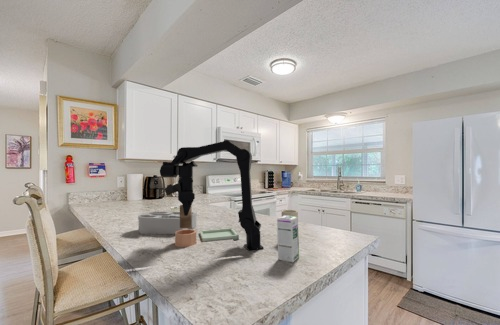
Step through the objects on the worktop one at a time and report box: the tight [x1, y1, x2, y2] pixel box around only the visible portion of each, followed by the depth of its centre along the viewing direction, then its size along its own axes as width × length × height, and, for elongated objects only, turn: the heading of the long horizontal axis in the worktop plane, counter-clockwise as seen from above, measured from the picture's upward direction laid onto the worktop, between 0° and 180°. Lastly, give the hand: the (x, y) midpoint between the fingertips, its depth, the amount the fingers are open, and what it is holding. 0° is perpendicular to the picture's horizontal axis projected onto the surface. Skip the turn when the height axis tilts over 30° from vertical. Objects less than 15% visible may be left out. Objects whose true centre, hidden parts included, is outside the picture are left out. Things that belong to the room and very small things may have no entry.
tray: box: [199, 227, 240, 243], centre depth 107 cm, size 14×16×2 cm
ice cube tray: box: [137, 211, 198, 236], centre depth 120 cm, size 17×28×9 cm, turn 80°
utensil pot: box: [174, 229, 197, 248], centre depth 96 cm, size 9×9×6 cm
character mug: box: [281, 209, 299, 218], centre depth 101 cm, size 11×7×13 cm, turn 164°
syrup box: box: [276, 215, 300, 263], centre depth 81 cm, size 6×6×14 cm
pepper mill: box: [179, 204, 193, 228], centre depth 96 cm, size 5×5×10 cm
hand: (185, 214), depth 96 cm, fingers closed on pepper mill, 5 cm apart
